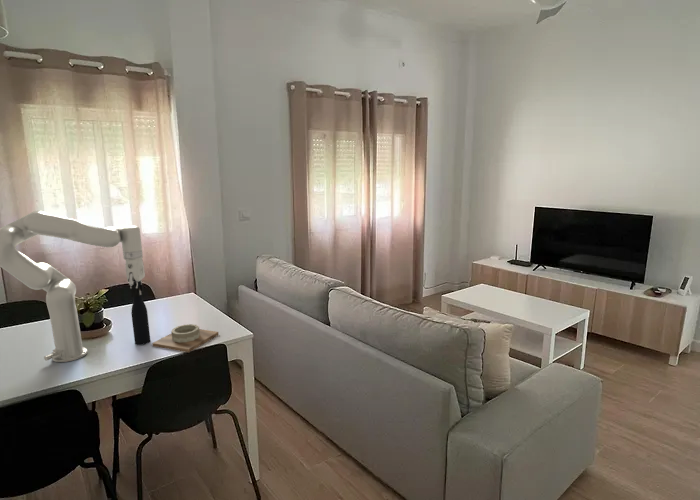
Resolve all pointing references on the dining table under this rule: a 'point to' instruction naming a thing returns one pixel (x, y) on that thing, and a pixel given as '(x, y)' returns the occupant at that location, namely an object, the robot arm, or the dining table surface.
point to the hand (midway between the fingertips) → (137, 294)
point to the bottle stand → (185, 338)
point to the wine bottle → (140, 320)
